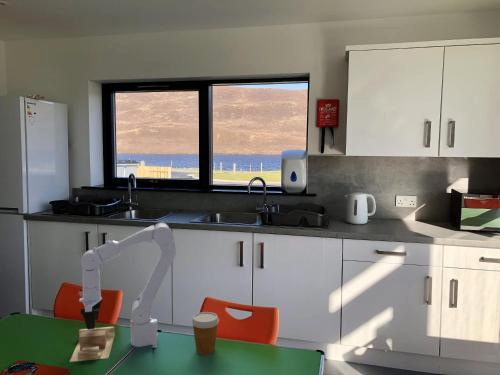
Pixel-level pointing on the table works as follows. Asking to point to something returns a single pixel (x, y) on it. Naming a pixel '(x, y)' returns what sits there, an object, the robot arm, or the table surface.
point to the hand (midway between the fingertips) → (92, 324)
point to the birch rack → (104, 352)
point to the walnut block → (93, 339)
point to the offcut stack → (89, 353)
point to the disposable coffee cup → (205, 331)
